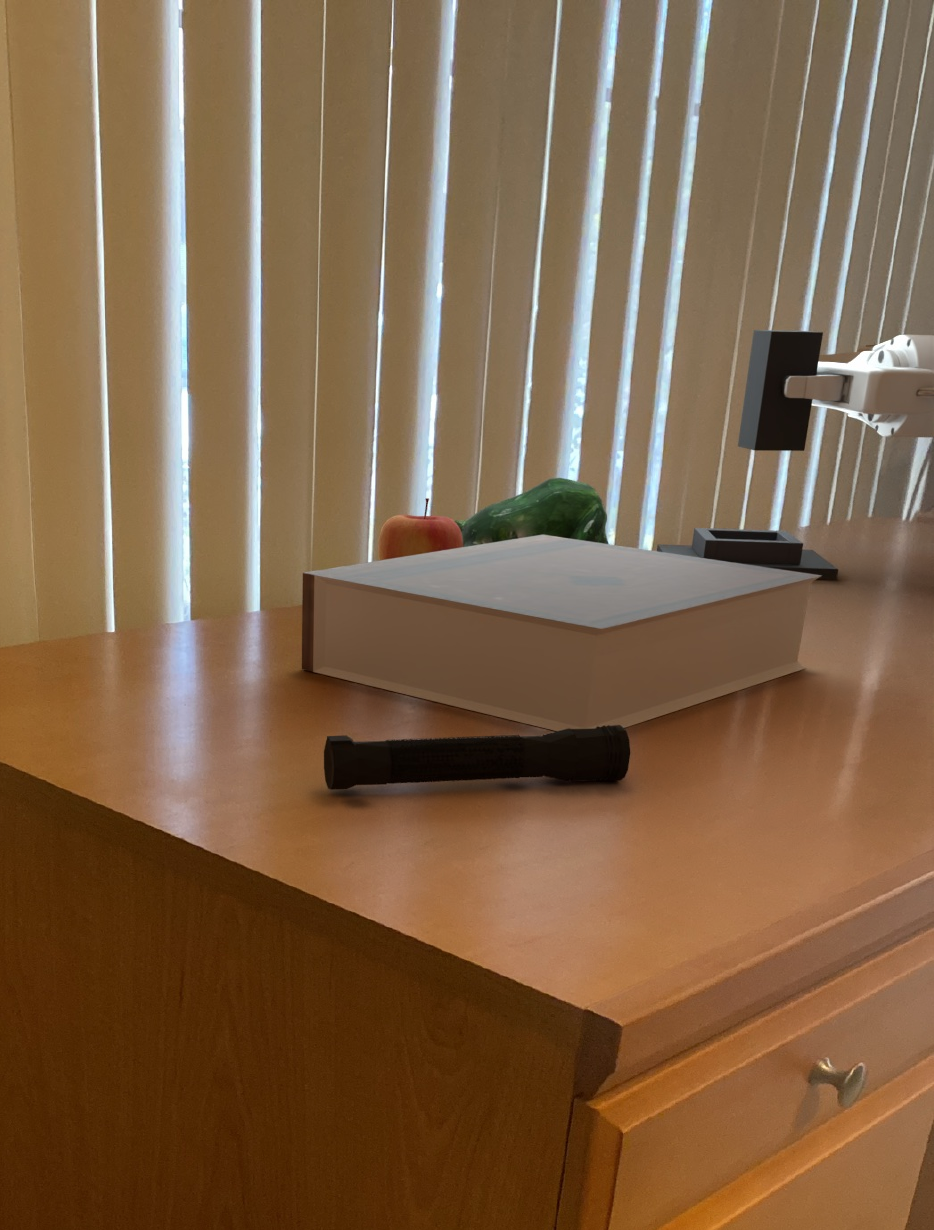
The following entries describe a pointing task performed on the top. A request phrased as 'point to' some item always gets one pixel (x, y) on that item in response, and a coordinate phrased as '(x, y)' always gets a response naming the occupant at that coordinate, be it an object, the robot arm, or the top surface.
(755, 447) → the dark grey block
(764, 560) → the base pad
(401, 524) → the apple
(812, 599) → the top surface
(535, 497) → the green pepper
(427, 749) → the flashlight
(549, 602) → the book
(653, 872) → the top surface
